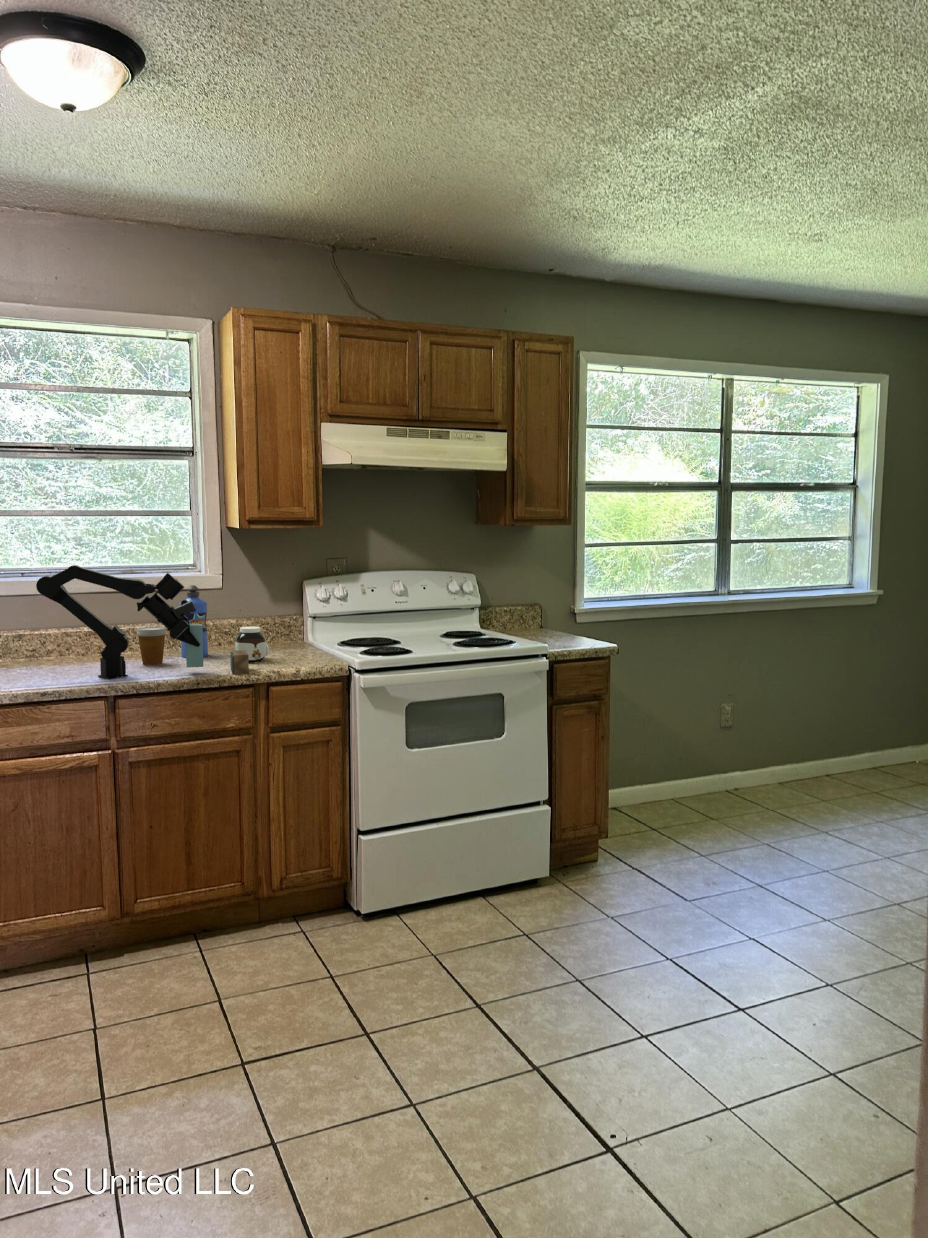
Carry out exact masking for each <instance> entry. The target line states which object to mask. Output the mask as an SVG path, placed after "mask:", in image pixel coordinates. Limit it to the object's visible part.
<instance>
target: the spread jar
mask: <svg viewBox="0 0 928 1238" xmlns="http://www.w3.org/2000/svg"><path fill="white" fill-rule="evenodd" d="M261 630H262V629H261V626H252V625H251V626H240V628H239V632H240V633H239V634H238V635H237V636H236V639H235V648H234V649H235V650H234V651H237V650H246V651H247V653H248V659H249V664H256V663H255V662H257V663H261V662H262V661H263V660H264V659H265V657H266V656H268V653H269V652H270V647H269V645H268V643H267V641H266V638H265V636H264V635H263V634H262V633H261Z"/></svg>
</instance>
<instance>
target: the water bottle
mask: <svg viewBox="0 0 928 1238" xmlns="http://www.w3.org/2000/svg"><path fill="white" fill-rule="evenodd" d="M198 590H199V587H198V586H196V585H189V586H188V587H187V591H186V599H185V600H187V601H188V602H189V601H191V600H192V602H193V604H194V606H195V608H196V611H194V612H191V613H189V614H186V615H185V616H186V617H187V618H188V620H186V622H188V621H189V622H190V624H202V626H203V658H207V657H209V643H208V642H209V637H208V636H209V635H208V628H207V614H208V602H207V601H205V600H203V599H201V597H200V591H198ZM180 605H181V601H180V602H179V605H178V606H180ZM180 645H181V646H180V647H181V648H180V649H181V651H180V652H181V658H184V659H187V658H186V643H185V642H182V641H180Z"/></svg>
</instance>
